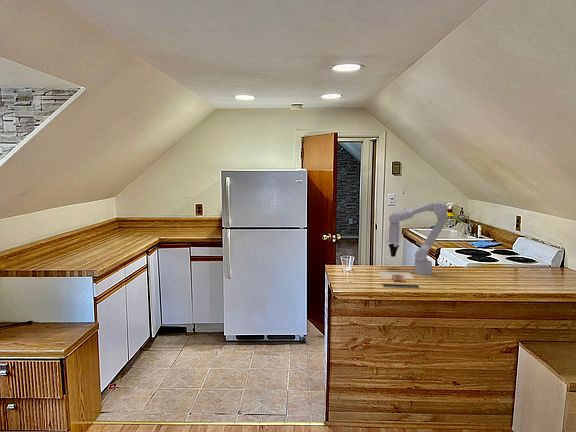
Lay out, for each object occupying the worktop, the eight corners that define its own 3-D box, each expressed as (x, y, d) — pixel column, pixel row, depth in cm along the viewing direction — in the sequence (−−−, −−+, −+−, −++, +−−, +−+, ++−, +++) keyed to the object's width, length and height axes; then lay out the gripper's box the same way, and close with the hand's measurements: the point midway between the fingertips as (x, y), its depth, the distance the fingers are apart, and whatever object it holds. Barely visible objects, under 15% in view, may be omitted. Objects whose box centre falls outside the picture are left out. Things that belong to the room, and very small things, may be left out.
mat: (414, 280, 228) (414, 280, 228) (419, 288, 215) (419, 287, 215) (380, 279, 230) (380, 279, 230) (383, 287, 216) (383, 286, 216)
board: (409, 274, 241) (409, 272, 241) (414, 280, 228) (414, 278, 228) (378, 273, 243) (378, 271, 243) (380, 279, 230) (380, 277, 230)
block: (403, 278, 229) (403, 274, 229) (405, 283, 221) (405, 280, 221) (391, 277, 230) (392, 274, 229) (393, 283, 222) (394, 280, 221)
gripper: (385, 231, 252) (384, 253, 254) (389, 235, 238) (388, 259, 239) (397, 231, 251) (396, 254, 253) (401, 235, 237) (400, 259, 239)
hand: (393, 256), depth 246 cm, fingers closed
